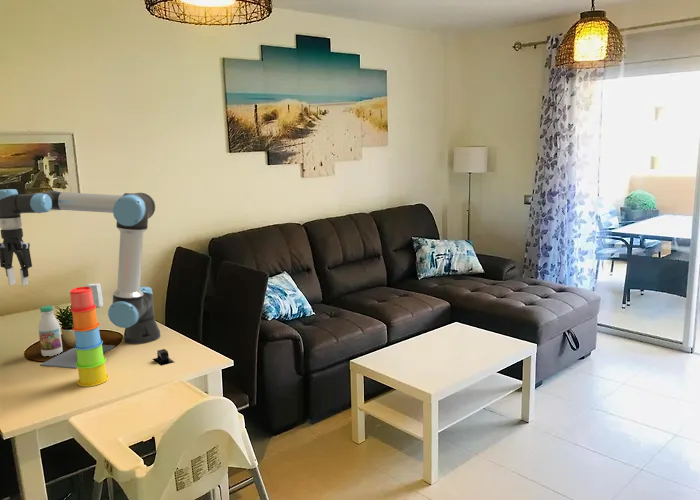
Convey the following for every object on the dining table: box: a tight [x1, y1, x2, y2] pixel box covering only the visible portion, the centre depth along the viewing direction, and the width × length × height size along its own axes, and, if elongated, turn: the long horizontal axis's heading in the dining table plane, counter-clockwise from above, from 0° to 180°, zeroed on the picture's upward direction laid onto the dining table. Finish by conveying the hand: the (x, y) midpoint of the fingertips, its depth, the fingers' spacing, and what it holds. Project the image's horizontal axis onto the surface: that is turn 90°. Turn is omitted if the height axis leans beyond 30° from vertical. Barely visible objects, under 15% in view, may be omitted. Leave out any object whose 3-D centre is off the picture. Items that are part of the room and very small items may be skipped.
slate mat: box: [39, 344, 116, 369], centre depth 228 cm, size 16×24×1 cm, turn 166°
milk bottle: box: [38, 305, 64, 357], centre depth 229 cm, size 8×8×20 cm
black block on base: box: [152, 348, 175, 367], centre depth 220 cm, size 12×7×5 cm, turn 39°
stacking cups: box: [69, 286, 110, 388], centre depth 199 cm, size 10×10×35 cm
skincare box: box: [85, 283, 104, 308], centre depth 300 cm, size 6×4×12 cm
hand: (18, 284), depth 228 cm, fingers open, 6 cm apart
